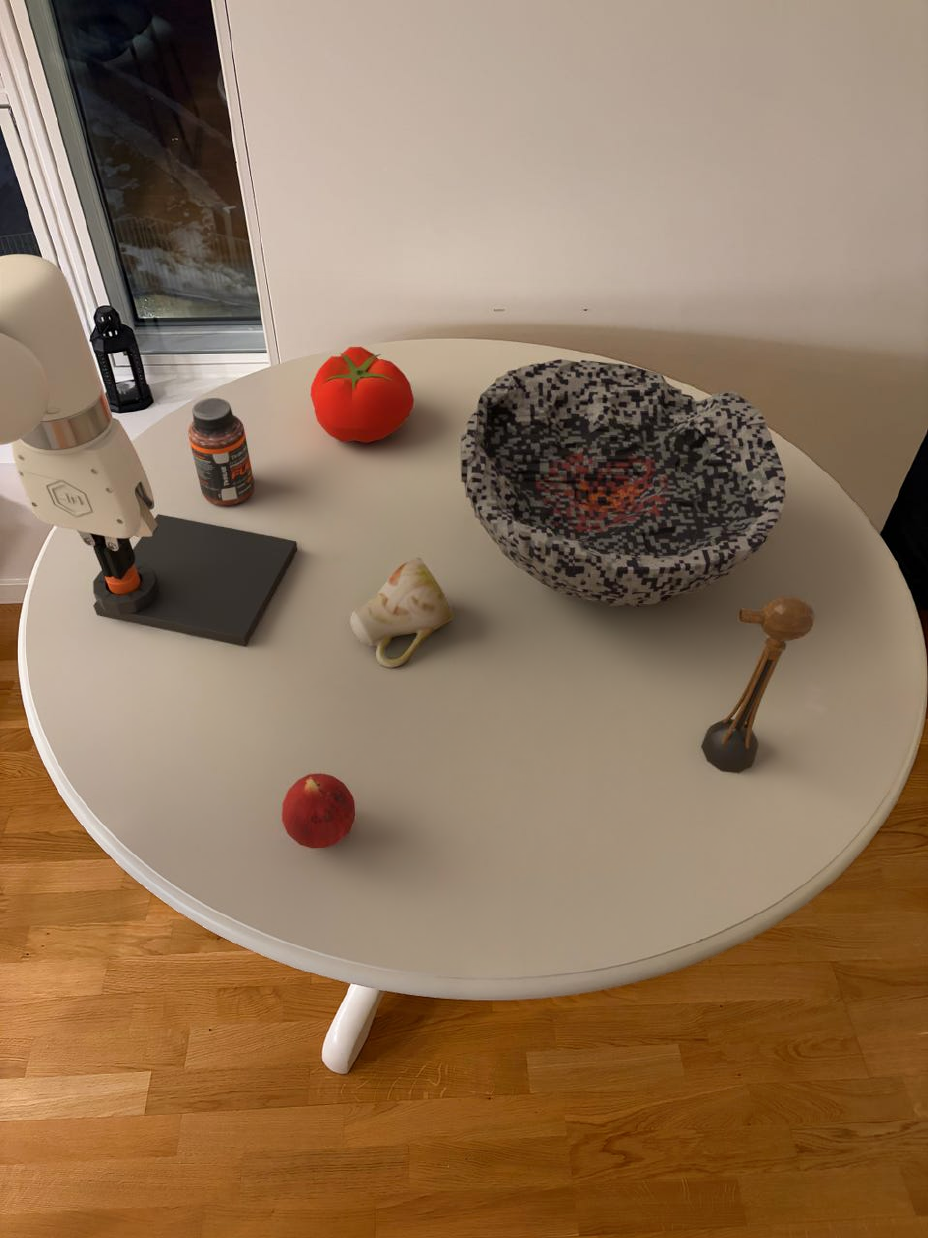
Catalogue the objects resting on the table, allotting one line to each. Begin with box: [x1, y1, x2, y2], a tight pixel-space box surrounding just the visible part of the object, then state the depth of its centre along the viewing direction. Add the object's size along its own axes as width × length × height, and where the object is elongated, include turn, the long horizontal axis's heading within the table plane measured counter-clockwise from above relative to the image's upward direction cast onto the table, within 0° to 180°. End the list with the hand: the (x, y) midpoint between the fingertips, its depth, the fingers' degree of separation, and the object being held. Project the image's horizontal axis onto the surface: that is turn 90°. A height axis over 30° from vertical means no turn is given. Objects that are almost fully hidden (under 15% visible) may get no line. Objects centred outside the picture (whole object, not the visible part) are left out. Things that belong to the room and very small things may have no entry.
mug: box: [349, 557, 455, 668], centre depth 88 cm, size 8×10×10 cm
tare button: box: [105, 566, 140, 595], centre depth 89 cm, size 3×3×2 cm
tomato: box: [310, 346, 415, 443], centre depth 108 cm, size 13×12×8 cm
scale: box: [92, 513, 299, 648], centre depth 92 cm, size 16×14×3 cm
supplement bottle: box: [187, 397, 255, 506], centre depth 99 cm, size 6×6×11 cm
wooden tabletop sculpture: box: [700, 596, 816, 774], centre depth 74 cm, size 6×5×20 cm
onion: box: [281, 772, 357, 850], centre depth 72 cm, size 6×6×8 cm
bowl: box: [460, 358, 787, 607], centre depth 92 cm, size 31×31×15 cm
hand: (120, 567), depth 88 cm, fingers closed
